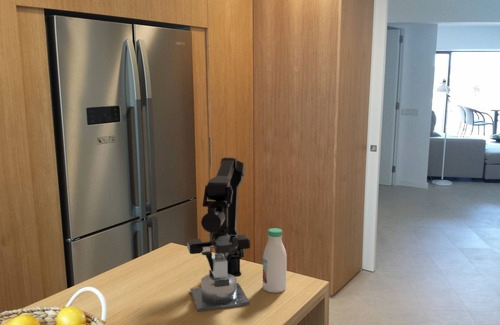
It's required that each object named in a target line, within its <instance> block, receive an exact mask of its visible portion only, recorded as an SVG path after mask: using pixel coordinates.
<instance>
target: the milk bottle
mask: <svg viewBox="0 0 500 325" xmlns="http://www.w3.org/2000/svg"><path fill="white" fill-rule="evenodd" d="M267 237H268V240H267V243H266V245H265V248H264V250H263V253H262V254H263V255H262V289H263V290H264V291H265V292H268V293H271V294H273V293H274V294H277V293H282V292H284V291H286V288H287V264H288V263H287V251H286V248H285V246H284V244H283V241H282V237H283V230H282V229H281V228H277V227H276V228H274V227H271V228H270V229H268V230H267Z"/></svg>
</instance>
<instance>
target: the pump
mask: <svg viewBox="0 0 500 325" xmlns="http://www.w3.org/2000/svg"><path fill="white" fill-rule="evenodd" d="M212 262H213V271H211V272H212V274H213V276H214V278H219V277H228V273H227V260H226V258H225V256H224V255H223V253H221V254H217V253H216V252H215V253H214V254H212Z"/></svg>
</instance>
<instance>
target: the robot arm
mask: <svg viewBox="0 0 500 325" xmlns="http://www.w3.org/2000/svg"><path fill="white" fill-rule="evenodd" d="M245 176H246V166H245V164H244V162H242V161H240V160H238V159H237V158H236V157H221V158H220V162H219V169H218V171H217V173H216V175H215V176H214V177H211V178H210V179H209V180H208V182H207V184H206V185H205V187H204V194H203V200H202V207H203V208H205V207H206V208H207V210H206V212H205V214H204V215H203V217H202V218H201V221H200V222H201V227H202V228H203V230H205V231H206V233H207V232H208V233H209V236H208V237H209V238H208V240H209V241H202V240H201V238H193V239H188V240H187V248H186V249H187V250H188V253H189V254H190V255H195V254H196V255H197V254H201V255H202V256H205V257H206V259H207V262H208V266H209V268H210V270H211V271H213V262H212V255H213V253H212V250H211V249H212V248H214V251H215V253H217V254H221V253H223V255H224V256H225V258H226V260H227V273H228V274H231V275H233V276H235V277H236V276H241V275H242V272H241V260H242V258H244V257H245V250H246V249H247V250H248V249H251V240H250V238H248V237H247V235H245V234H240V233H239V231H238V229H237V222H238V205H239V204H238V200H239V188H240V187H241V185H242V183H243V182H244V177H245Z"/></svg>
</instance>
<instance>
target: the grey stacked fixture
mask: <svg viewBox="0 0 500 325" xmlns="http://www.w3.org/2000/svg"><path fill="white" fill-rule="evenodd" d="M200 281H201V283H200V284H201V286H199V287H191V288H190V294H191V297H192V300H193V302H194V306H195V308H196V312H200V313H201V312H205V311H212V310H213V311H216V310H222V309H228V308H229V309H230V308H236V307H243V306H250V304H251V301H250V300H249V298H248V296H247V295H246V294H245V291H244V290H243V288H242V286H241V285H240V283H239V282H238V280H237V277H236V276H233V275H231V274H228V277H219V278H214V276H213V274H212V272H211V269H209V270H208V274H207V275H204V276H203V277H202V278H201V280H200Z"/></svg>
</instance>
